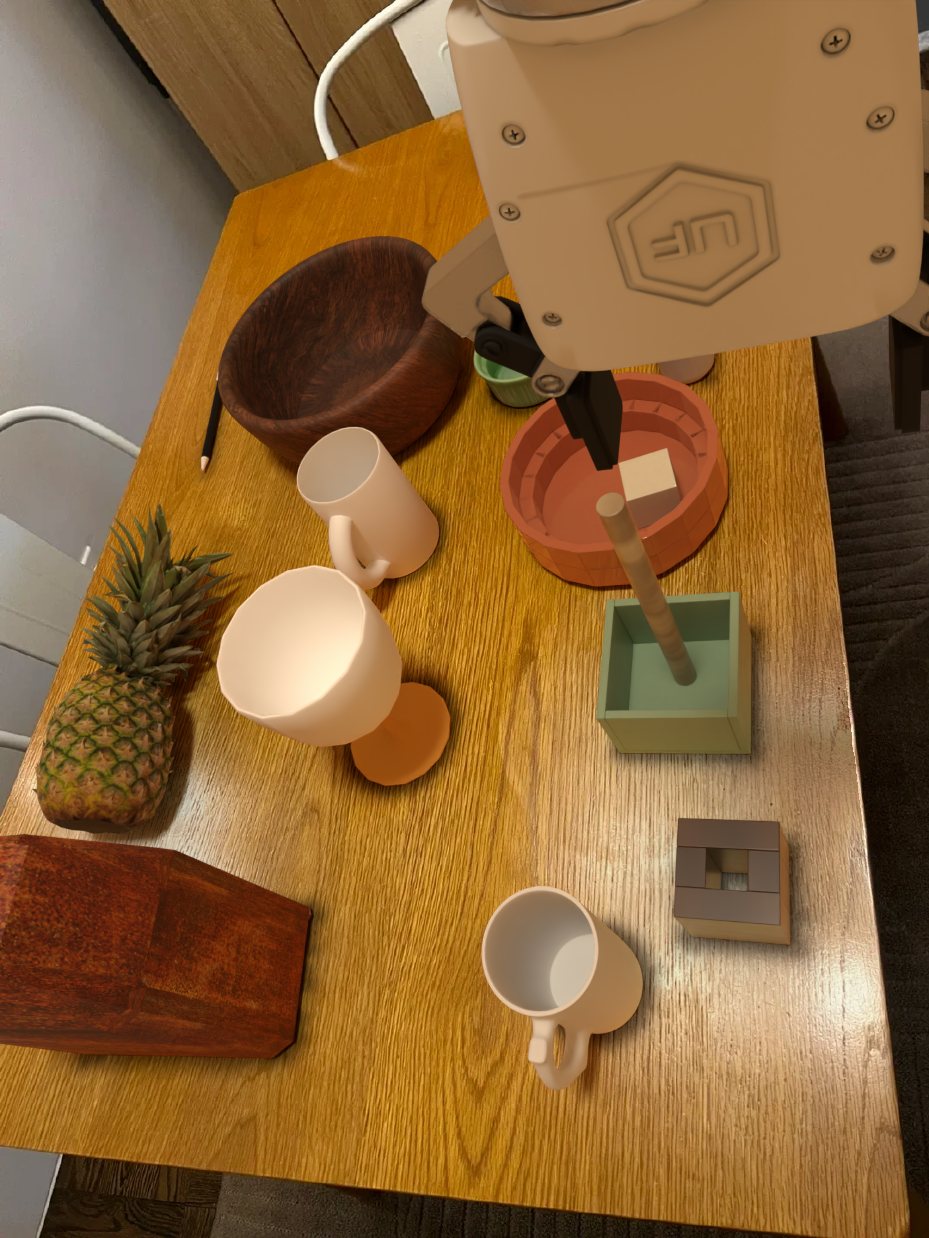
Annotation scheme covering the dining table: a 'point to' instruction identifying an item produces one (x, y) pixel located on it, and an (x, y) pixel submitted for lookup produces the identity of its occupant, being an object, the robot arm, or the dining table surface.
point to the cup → (330, 675)
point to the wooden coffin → (143, 953)
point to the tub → (649, 695)
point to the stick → (645, 584)
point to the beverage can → (687, 368)
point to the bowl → (614, 481)
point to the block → (650, 487)
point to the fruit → (126, 690)
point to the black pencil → (211, 427)
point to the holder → (732, 851)
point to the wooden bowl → (341, 350)
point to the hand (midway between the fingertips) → (748, 420)
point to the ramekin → (507, 383)
